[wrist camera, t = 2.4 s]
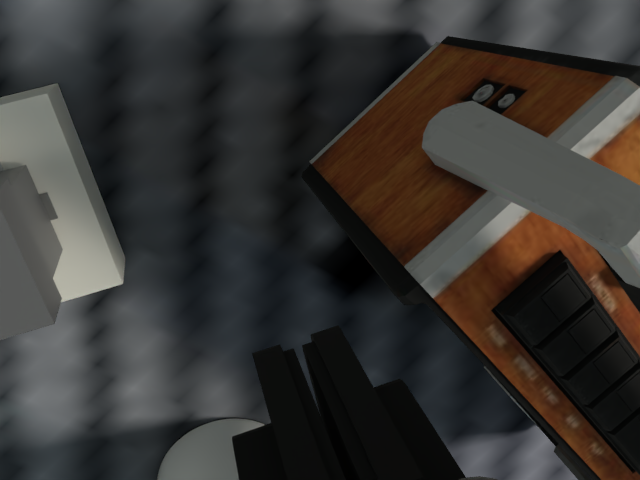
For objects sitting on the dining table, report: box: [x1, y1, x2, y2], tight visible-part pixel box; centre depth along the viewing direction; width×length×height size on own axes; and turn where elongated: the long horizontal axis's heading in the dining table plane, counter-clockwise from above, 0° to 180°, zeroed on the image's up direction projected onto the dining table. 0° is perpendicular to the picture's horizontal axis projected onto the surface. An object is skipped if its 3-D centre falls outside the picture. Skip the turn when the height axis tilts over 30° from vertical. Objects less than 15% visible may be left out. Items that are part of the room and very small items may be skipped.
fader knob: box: [0, 165, 63, 340], centre depth 23 cm, size 5×3×6 cm, turn 12°
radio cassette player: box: [302, 36, 640, 480], centre depth 28 cm, size 29×10×20 cm, turn 41°
